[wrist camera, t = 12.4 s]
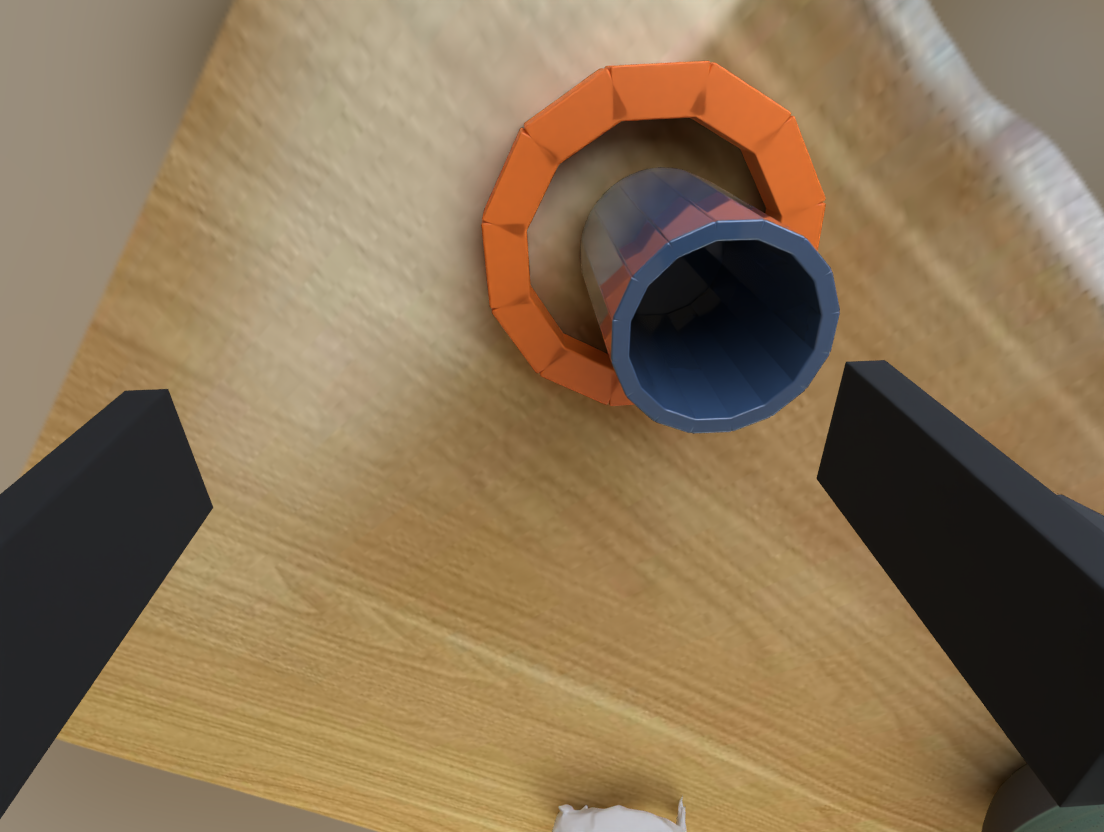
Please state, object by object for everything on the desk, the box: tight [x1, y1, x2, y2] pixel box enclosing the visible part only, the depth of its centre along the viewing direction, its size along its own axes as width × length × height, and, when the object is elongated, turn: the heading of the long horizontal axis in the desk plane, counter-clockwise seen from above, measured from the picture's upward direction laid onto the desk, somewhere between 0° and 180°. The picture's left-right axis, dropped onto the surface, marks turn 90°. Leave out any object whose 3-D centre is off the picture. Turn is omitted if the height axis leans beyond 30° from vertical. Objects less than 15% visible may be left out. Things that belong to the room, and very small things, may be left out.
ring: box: [481, 61, 825, 406], centre depth 23 cm, size 12×12×2 cm
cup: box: [580, 167, 840, 434], centre depth 20 cm, size 6×6×9 cm
